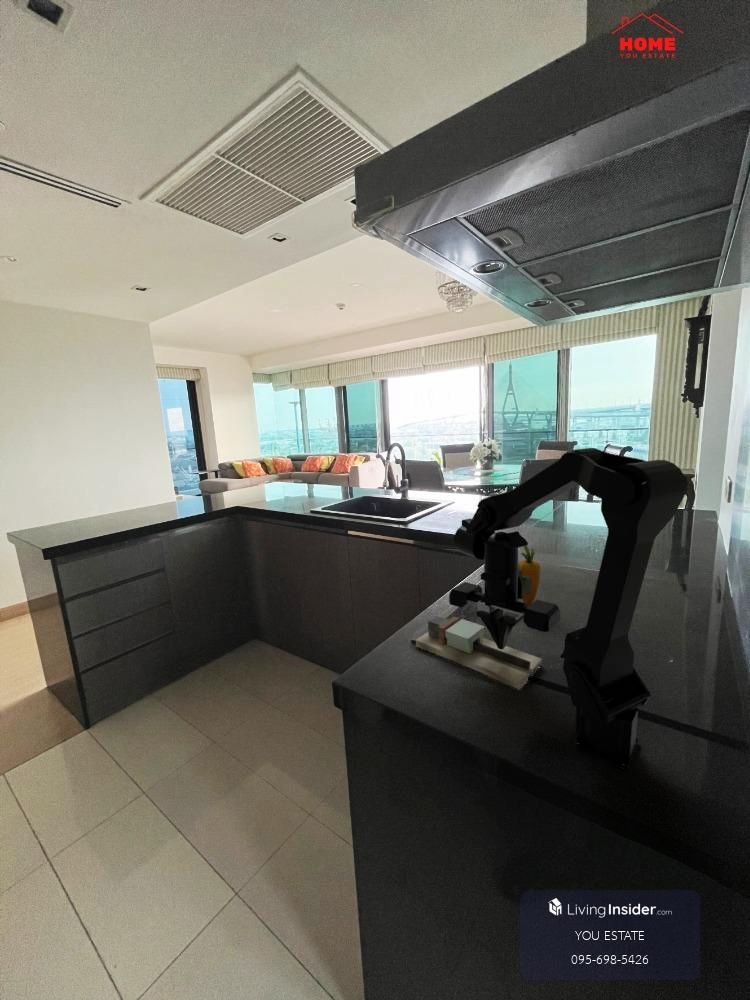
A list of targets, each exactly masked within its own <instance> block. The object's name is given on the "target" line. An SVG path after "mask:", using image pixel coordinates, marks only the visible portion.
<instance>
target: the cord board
mask: <svg viewBox="0 0 750 1000" xmlns="http://www.w3.org/2000/svg"><path fill="white" fill-rule="evenodd" d="M459 621H460V618H459V617H457V616H452V617H450V618H449V619H447V618H443V617H440V616H438V615H435V616H433V617H432V618H430V619H428V620H427V627H428V628H427V629H428V631H427V632H426V633H424V634H423V635H421V636H419V637H418V638H417V639H415V647H416V648H418V647H419V648H418V649H420V648H421V650H423V649H424V650H423V651H425V650H427V651H429V652H428V653H430V652H432V653H435V654H437V655H440V656H443V657H445V658H448V659H450V660H453V661H455V662H457V663H459V664H462V665H463V666H466V667H469V668H472V669H474V670H476V671H479V672H481V673H483V674H485V675H488V676H489V677H492V678H494V679H497V680H499V681H501V682H504V683H507V684H509V685H512V686H513V687H515V688H517V689H521V688H522V687H523V686H524V685H525V684H526V685H527V683H528V682H529V681H528V677H529V674H530V673H531V672H533V670H534V669H535V668H537V666H538V665H539V664H541V662H542V663H543V658H541V657H539V656H538V657H537V656H536V655H532V654H530V653H527V652H524V651H521V650H518V649H515V648H512V647H510V646H507V645H506V646H505V648H504V649H503V650H501V649H498V647H497V645H496V643H495V642H494V640H491V639H487V638H485V637H483V643H482V644H481V643H478V642H475V641H474V642H473V651H472V652H471V653H467V652H464V651H462V650H459V649H457V648H454V647H452V646H449V645H447V638H446V633H445V631H446V630H447V629H449V628H450V627H451V626H453V625H454V624H456V623H457V622H459ZM427 651H426V652H427ZM432 653H431V654H432ZM437 655H436V656H437ZM463 666H462V667H463ZM489 677H488V678H489ZM527 681H528V682H527ZM524 687H525V686H524ZM524 687H523V688H524ZM515 688H514V689H515ZM523 688H522V689H523ZM517 689H516V690H517ZM522 689H521V690H522Z"/></svg>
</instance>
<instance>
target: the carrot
mask: <svg viewBox="0 0 750 1000" xmlns="http://www.w3.org/2000/svg"><path fill="white" fill-rule="evenodd" d="M523 549H524V551H525V552H520V555H521V556H523V557H524V559H523V560H521V561H520V562H518V570H521V572H522V576H524V577H529V578H532V585H531V592H530V595H528V594H525V597H524V598H523V599H521V600H522V601H523V603H526V605H531V604H532V603H533V602H534V601H535V598H536V596H537V593H538V588H539V584H540V575H541V566H540V564H539V563H538V562H536V561H535V560H534V557H535V556H534V555H535V554H536V552H535V549H534V548H530V550H529V547H528V545H527V546H523Z"/></svg>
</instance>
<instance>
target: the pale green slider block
mask: <svg viewBox="0 0 750 1000" xmlns="http://www.w3.org/2000/svg"><path fill="white" fill-rule="evenodd" d="M445 633H446V638H447V645H449V646H452V647H454V648H457V649H459V650H462V651H464V652H467V653H471V652H472V651H473V642H474V641H475V642H478V643H481V644H482V643H483V638H484V634H485V625H481V624H479V623H475V622H472V621H469V620H466V619H464V618H461V619H459V622H457V623H456V624H454V625H453V626H451V627H450V628H449V629H447V630H446V631H445Z"/></svg>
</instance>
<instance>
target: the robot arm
mask: <svg viewBox="0 0 750 1000" xmlns="http://www.w3.org/2000/svg"><path fill="white" fill-rule="evenodd" d="M688 485H689V484H688V479H687V476H686V475H685V474H684V473H683V471H682V470H681V468H680V467H679V466H678V465H676V464H675V463H673V462H671V461H668V460H667V459H653V460H644V459H642V458H641V459H640V458H638V457H631V456H625V455H622V454H621V455H620V454H615V453H611V452H607V451H604V450H600V449H598V448H595V447H588V448H579V449H570V450H568V451H566V452H565V453H563V454H562V456H560V458H559V459H557V460H555V461H554V462H553V463H550V464H549V465H548V466H546V467H545V468H543V469H542V470H540V471H538V472H537V473H535V474H534V475H532V476H530V478H528V479H526V480H525V481H524V482H522V483H520V484H519V485H517V486H516V487H514V488H513V489H511V490H508V491H505V492H504V491H503V492H500V493H497V494H494V495H490V496H488V497H487V496H486V497H485V498H482V499H481V500H480V501H479V502H478V504H477V505H476V506H477V509H476V510H475V513H474V514H473V517H471V518H465V519H461V526H459V527H458V529H456V530H455V532H454V533H455V534H454V536H453V540H452V541H453V546H454V548H455V549H456V550H457V551H458V552H460V553H462V554H464V555H468V556H470V557H472V558H474V559H478V560H482V561H483V569H484V570H483V572H482V573H480V580H481V581H484V586H483V587H484V588H482V587H481V585H479V584H474V583H470V582H466V581H464V582H462V583H461V584H459V585H457V586H455V587H453V588H451V590H450V591H449V593H448V603H449V605H451V606H455V607H458V608H464V607H465V606H466V605H467V604H468V602H469V601H470V602H473V603H476V604H477V609H478V610H477V611H476V612H475V615H476V617H479V618H480V619H481V621H482V623H483V624H484V627H486V629H487V630H488V632H489V634H490V636H491V638H492V639H493V640H492V641H493V642H495V643H496V645H497V647H498V649H501V650H503V649H504V648H505V646H507V644H508V640H509V638H510V635H511V632H512V630H513V628H514V627H515V626H517V625H518V624H519V623H520V622H521V621H522V620H523V623H524V624H525V626H526V627H527V628H529V629H532V630H535V631H540V632H542V633H546V632H550V631H551V630H552V629H553V627H555V625H557V624H558V623H559V622H560V621H561V609H560V608H559V606H558V605H557V604H556V603H553V602H548V601H545V600H541V599H536V600H535V599H534V601H533V602H532V604H531V605H526V603H524V601H523V602H522V601H519V600H522V599H523V598H524V597H525V594H528V595H530V592H531V585H532V578H529V577H524V576H522V572H521V570H518V564H519V548H522V547H523V548H524V546H527V547H528V545H529V542H528V541H527V540H526V538H525V537H524V536H522V535H521V534H520V532H519V531H518V530H516V531H512V532H505V531H504V530H507V529H511V528H518V527H520V526H522V525H523V524H524V523H525V522H527V520H528V519H530V518H531V517H532V516H533V512H534V511H535V510H537V508H538V507H540V506H543V505H544V504H546V503H548V502H549V501H551V500H553V499H555V498H557V497H559V496H560V495H563V494H564V493H566V492H568V491H569V490H571V489H573V488H576V487H577V486H579V487H581V488H582V489H583V490H584V491H585V492H586V493H587V494H589V495H591V496H594V497H596V498H598V499H600V501H601V502H600V503H601V504H600V512H601V514H602V517H603V519H604V522H605V524H606V527H607V536H606V537H607V538H606V541H605V545H604V549H603V554H602V558H601V563H600V567H599V570H598V575H597V578H596V579H597V580H596V584H595V587H594V591H593V592H594V593H593V597H592V600H591V604H590V608H589V613H588V617H587V621H586V625H585V626H584V627H581V628H578V629H575V630H573V631H570V632H567V633H566V635H565V638H564V649H563V651H562V653H561V654H560V655H559V657H560V658H561V659H563V662H562V669H563V673H564V675H565V679H566V683H567V687H568V688H567V689H568V692H569V694H570V699H571V704H572V706H573V707H575V725H574V727H575V728H574V731H575V734H576V735H577V737H576V738H575V740H574V746H575V745H576V746H577V747H578V749H579V748H580V750H581V749H582V751H583V750H584V751H583V752H586V753H588V754H590V755H592V754H593V755H592V756H594V755H596V756H598V757H600V758H602V759H604V760H603V761H605V760H606V761H605V762H607V761H608V762H607V763H608V764H611V763H612V764H611V765H613V764H614V765H613V766H615V765H616V766H615V767H617V766H618V767H617V768H619V767H622V768H624V769H627V768H628V767H629V768H630V766H629V764H630V765H631V763H630V762H632V761H631V759H632V760H633V758H632V756H633V754H634V755H635V753H636V751H635V749H636V750H637V748H636V746H637V744H638V745H639V743H638V742H639V739H638V737H637V728H638V727H637V726H638V715H639V714H638V713H639V712H638V711H639V708H640V707H641V706H645V705H647V703H648V701H649V700H650V698H651V696H652V695H651V694H652V693H651V692H650V691H649V689H648V687H647V685H646V684H645V683H644V681H643V680H642V678H641V677H640V676H639V674H638V672H637V671H636V669H635V667H634V660H635V659H634V657H635V653H634V649H633V647H632V644H631V641H630V639H629V631H630V628H631V626H632V621H633V618H634V615H635V610H636V606H637V603H638V600H639V596H640V592H641V590H642V586H643V581H644V579H645V575H646V570H647V568H648V563H649V561H650V556H651V555H652V554H651V553H652V549H653V546H654V542H655V540H656V539H657V538H656V537H657V536H658V535H659V534H660V533H661V532H662V530H663V529H664V528H665V527H666V526H667V525H668V524H669V522H670V521H671V520H672V519H673V518H674V516H675V515H676V513H677V511H678V509H679V507H680V505H681V504H682V501H684V500H683V499H684V498H685V496H686V493H687V492H688ZM496 531H497V532H496ZM483 589H484V593H483ZM577 743H579V744H577ZM635 743H636V744H635ZM576 746H575V747H576ZM577 747H576V748H577ZM637 747H638V746H637ZM634 752H635V753H634ZM596 756H595V757H596ZM598 757H597V758H598ZM633 757H634V756H633ZM600 758H599V759H600ZM602 759H601V760H602ZM622 764H625V765H626V766H624V765H622ZM629 768H628V769H629ZM624 769H623V770H624Z"/></svg>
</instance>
